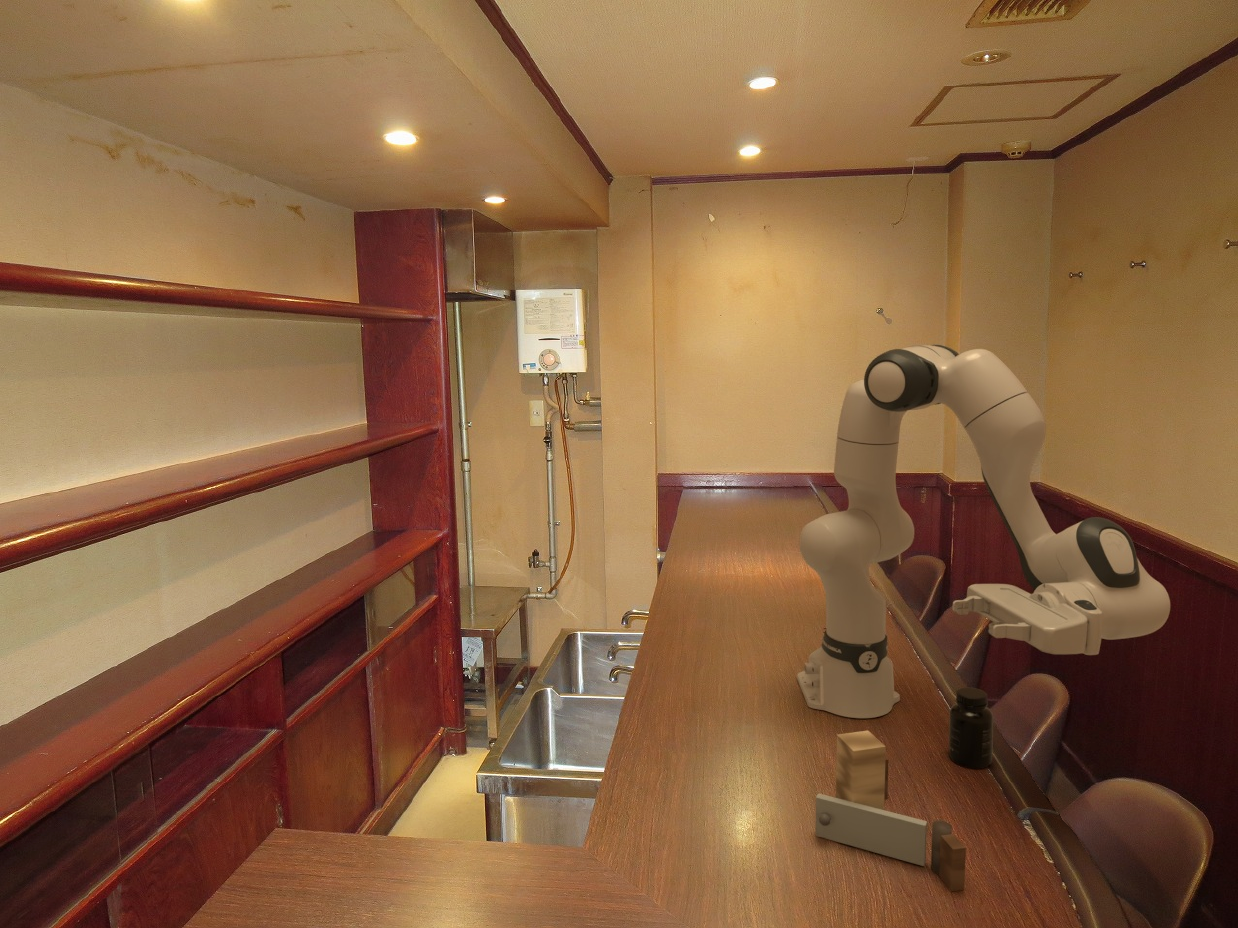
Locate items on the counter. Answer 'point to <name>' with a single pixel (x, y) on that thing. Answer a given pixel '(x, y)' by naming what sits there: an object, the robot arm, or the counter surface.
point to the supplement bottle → (971, 729)
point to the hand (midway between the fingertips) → (972, 618)
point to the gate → (871, 829)
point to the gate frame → (944, 851)
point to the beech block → (860, 769)
